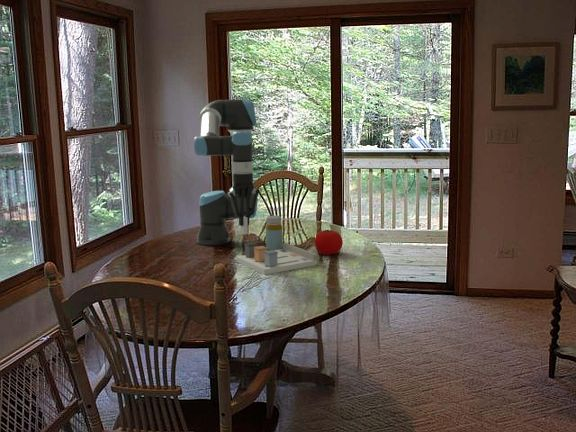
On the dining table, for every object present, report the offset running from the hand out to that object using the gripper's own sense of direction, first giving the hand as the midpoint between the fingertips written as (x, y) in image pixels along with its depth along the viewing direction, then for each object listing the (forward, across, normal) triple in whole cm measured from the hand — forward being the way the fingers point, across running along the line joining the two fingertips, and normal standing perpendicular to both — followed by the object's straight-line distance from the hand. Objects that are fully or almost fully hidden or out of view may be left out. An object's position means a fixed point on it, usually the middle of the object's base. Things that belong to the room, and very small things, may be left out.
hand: (244, 233), depth 231 cm
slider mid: (+12, +7, 0) cm, 14 cm away
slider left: (+12, +7, +8) cm, 16 cm away
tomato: (+14, +40, 0) cm, 43 cm away
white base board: (+14, +14, 0) cm, 20 cm away
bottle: (+14, +24, +18) cm, 33 cm away
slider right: (+12, +7, -8) cm, 16 cm away
